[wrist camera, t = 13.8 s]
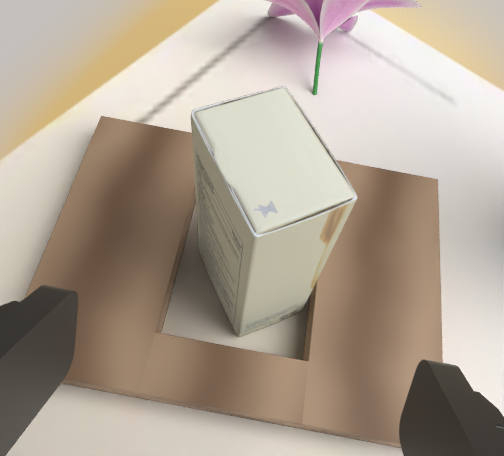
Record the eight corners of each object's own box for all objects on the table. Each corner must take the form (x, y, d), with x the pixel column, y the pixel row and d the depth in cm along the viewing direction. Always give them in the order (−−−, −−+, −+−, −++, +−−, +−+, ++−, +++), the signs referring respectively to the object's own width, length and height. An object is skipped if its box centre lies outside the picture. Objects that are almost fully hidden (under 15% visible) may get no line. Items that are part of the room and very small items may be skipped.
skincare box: (304, 311, 28) (368, 205, 17) (236, 340, 26) (257, 246, 16) (258, 221, 30) (288, 78, 19) (194, 244, 29) (187, 106, 18)
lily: (412, 82, 39) (439, -55, 33) (368, 126, 30) (394, -50, 25) (281, 63, 44) (286, -59, 38) (210, 96, 35) (204, -56, 30)
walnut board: (425, 195, 32) (437, 179, 30) (427, 452, 24) (445, 450, 23) (107, 135, 32) (101, 115, 30) (11, 373, 25) (-4, 365, 23)
